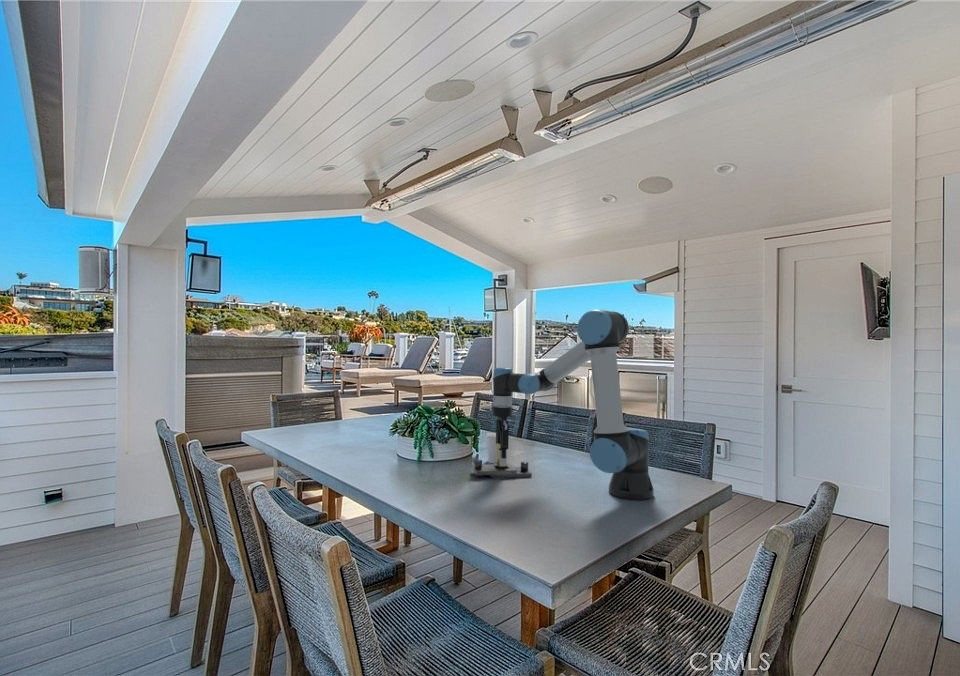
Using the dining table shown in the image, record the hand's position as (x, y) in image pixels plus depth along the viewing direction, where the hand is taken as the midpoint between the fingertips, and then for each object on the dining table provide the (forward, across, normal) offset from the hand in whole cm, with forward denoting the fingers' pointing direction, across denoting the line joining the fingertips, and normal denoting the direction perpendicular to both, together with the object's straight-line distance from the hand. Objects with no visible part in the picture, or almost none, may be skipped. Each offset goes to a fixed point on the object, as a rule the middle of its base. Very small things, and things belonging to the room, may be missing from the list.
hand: (501, 464), depth 192 cm
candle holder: (+4, -21, +3) cm, 22 cm away
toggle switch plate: (+4, 0, 0) cm, 4 cm away
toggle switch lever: (+4, 0, 0) cm, 4 cm away
